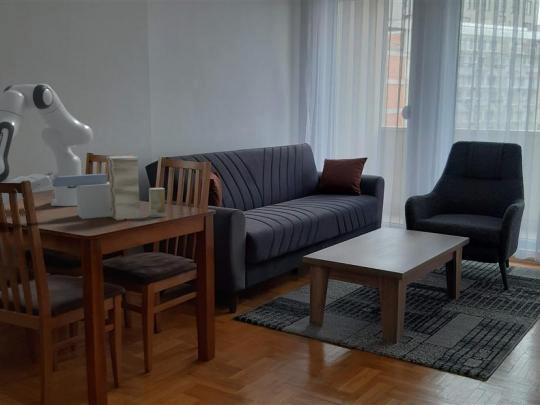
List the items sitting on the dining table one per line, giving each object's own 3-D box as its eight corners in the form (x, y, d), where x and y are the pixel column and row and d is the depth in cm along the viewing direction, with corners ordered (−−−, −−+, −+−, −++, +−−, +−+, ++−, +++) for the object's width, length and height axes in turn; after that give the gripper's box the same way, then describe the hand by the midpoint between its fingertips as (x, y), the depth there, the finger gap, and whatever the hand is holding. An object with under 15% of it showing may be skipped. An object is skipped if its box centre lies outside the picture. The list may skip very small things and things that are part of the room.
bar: (52, 186, 263) (52, 176, 263) (105, 183, 273) (104, 173, 273) (54, 187, 260) (53, 177, 259) (107, 184, 270) (106, 174, 269)
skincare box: (151, 217, 266) (150, 189, 264) (149, 216, 270) (148, 188, 268) (166, 216, 268) (165, 188, 266) (163, 214, 272) (162, 187, 270)
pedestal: (109, 216, 269) (106, 156, 265) (134, 214, 274) (132, 155, 270) (115, 220, 259) (112, 158, 255) (141, 218, 264) (139, 157, 260)
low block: (77, 215, 273) (75, 183, 271) (109, 212, 279) (108, 181, 277) (82, 218, 264) (80, 186, 262) (115, 215, 270) (113, 184, 268)
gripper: (25, 181, 246) (58, 168, 253) (15, 178, 263) (46, 166, 270) (32, 195, 248) (64, 182, 255) (21, 191, 265) (52, 179, 272)
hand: (55, 173), depth 262 cm, fingers open, 8 cm apart
